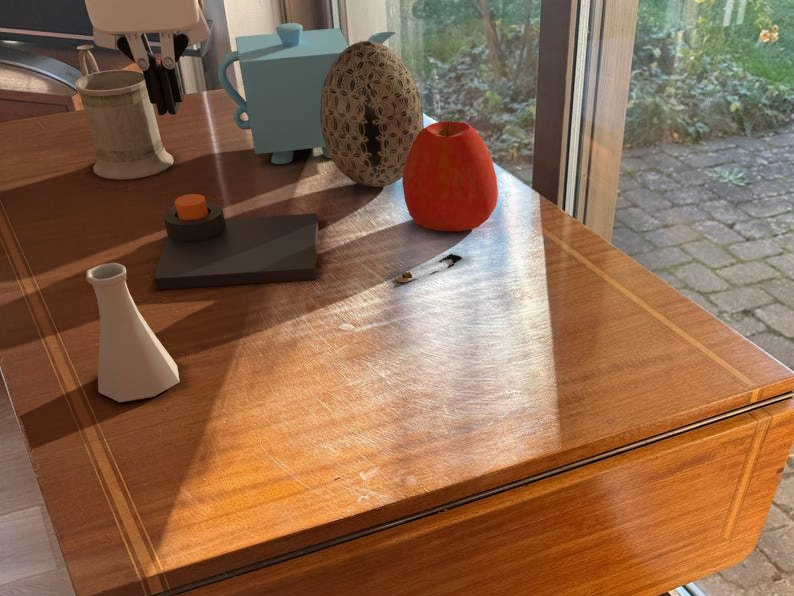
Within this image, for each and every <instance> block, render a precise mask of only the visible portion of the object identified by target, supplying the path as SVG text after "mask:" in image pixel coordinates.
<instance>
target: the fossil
mask: <svg viewBox="0 0 794 596" xmlns="http://www.w3.org/2000/svg"><path fill="white" fill-rule="evenodd" d="M462 259H463V257H462V256H461V255H457V254H453V253H450V254H448V255H447V256H446V257H445V256H444V257H443V258H442V259H439V260H438V261H435V262H434V263H440V264H442V263H443V261H445V260H451V264H448V266H447V268H449V267H452V266H453V265H455V264H456V263H457V262H459V261H461V260H462ZM443 265H444V266H446V264H445V263H444V264H443ZM438 272H439V270H436V271H435V270H434V271H432V272H431V273H430V275H433V274H434V273H438ZM413 278H414V276H413V273H412V272H411V270H406V271H403V272H402V274H401V275H400V276H396V277H395V281H397V282H399V283H408V282H411V281H414V280H415V278H414V279H413ZM419 279H420V278H419V277H418V278H417V280H419Z"/></svg>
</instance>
